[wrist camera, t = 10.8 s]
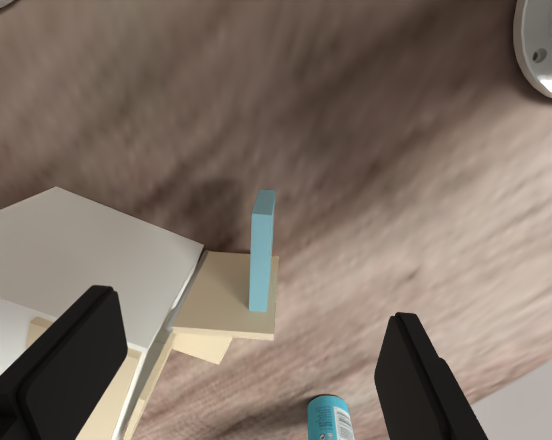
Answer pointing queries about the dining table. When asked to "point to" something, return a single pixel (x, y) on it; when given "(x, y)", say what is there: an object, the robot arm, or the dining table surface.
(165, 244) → the carton
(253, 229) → the door
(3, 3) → the cylinder vase
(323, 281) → the dining table surface
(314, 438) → the tube
